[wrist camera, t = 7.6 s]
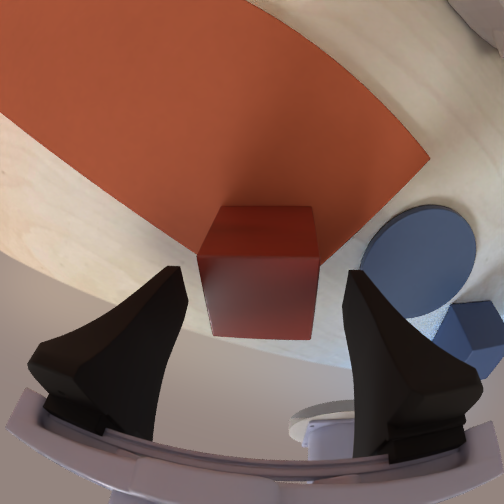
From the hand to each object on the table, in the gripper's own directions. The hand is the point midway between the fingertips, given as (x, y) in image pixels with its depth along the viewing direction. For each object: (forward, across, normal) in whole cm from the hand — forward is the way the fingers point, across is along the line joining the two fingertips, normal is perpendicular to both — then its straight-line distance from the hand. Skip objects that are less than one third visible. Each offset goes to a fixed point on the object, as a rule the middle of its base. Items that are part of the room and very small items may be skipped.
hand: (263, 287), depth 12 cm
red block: (+3, 0, 0) cm, 3 cm away
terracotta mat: (+4, +11, -13) cm, 18 cm away
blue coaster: (+4, -9, +2) cm, 10 cm away
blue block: (+4, -15, +7) cm, 17 cm away
